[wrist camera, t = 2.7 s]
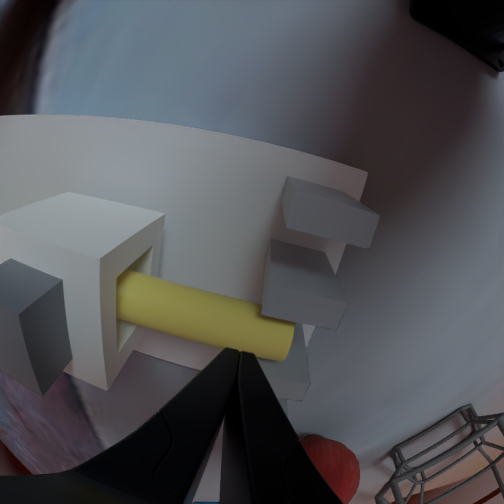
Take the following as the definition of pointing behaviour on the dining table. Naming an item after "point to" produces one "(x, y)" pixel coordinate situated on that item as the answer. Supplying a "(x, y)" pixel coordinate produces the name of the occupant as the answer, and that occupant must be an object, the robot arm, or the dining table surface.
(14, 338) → the sleeve
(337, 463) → the onion
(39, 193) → the linear slider
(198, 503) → the milk carton
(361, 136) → the dining table surface
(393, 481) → the geometric lantern
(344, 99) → the dining table surface
